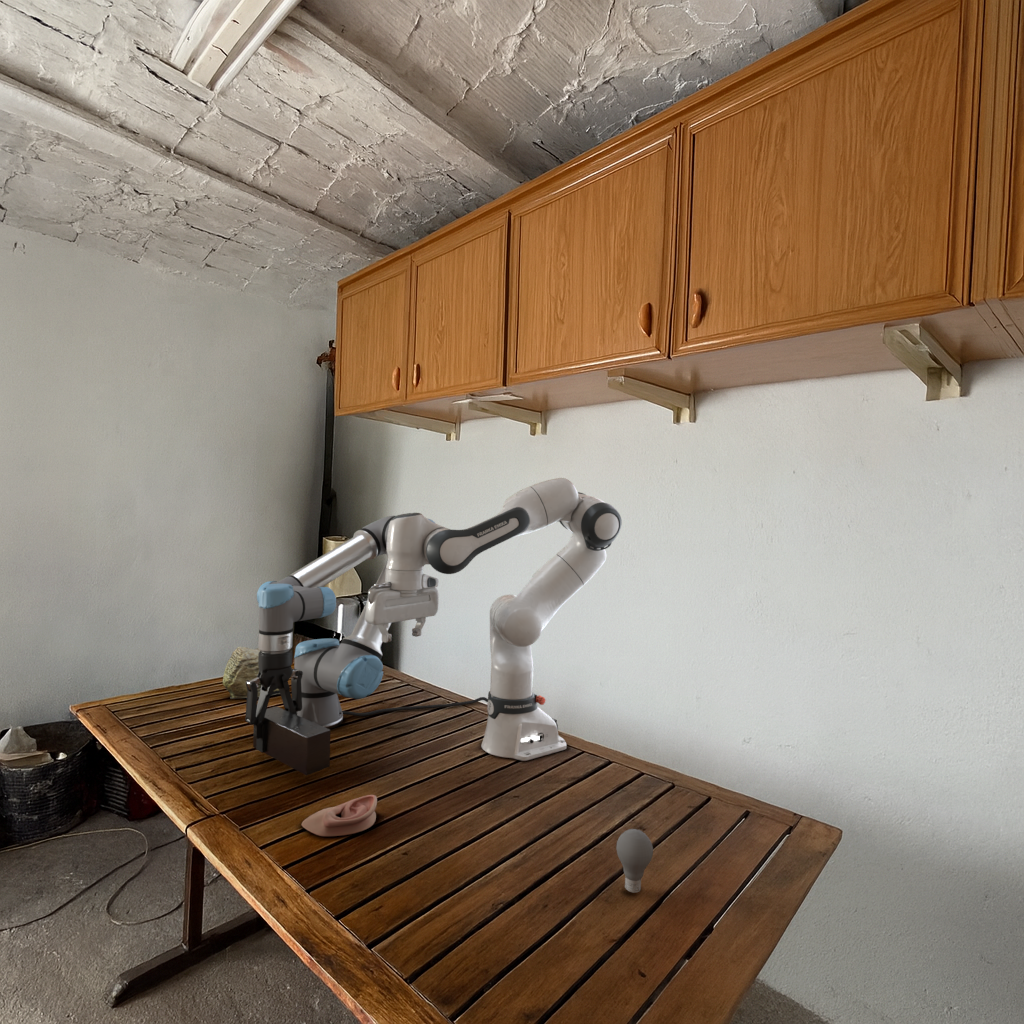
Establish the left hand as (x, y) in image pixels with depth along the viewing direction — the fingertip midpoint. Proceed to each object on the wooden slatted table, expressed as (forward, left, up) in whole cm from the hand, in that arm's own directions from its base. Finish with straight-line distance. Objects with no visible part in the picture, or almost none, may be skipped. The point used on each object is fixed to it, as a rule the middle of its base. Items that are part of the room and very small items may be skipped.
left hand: (274, 746), depth 150 cm
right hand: (-19, +23, +27) cm, 40 cm away
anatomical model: (+7, +35, -3) cm, 36 cm away
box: (0, +7, 0) cm, 7 cm away
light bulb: (-13, +88, -3) cm, 89 cm away
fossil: (-22, -48, -3) cm, 53 cm away
